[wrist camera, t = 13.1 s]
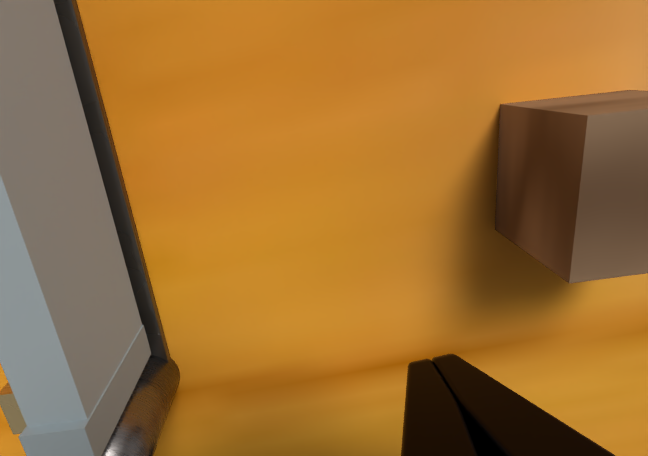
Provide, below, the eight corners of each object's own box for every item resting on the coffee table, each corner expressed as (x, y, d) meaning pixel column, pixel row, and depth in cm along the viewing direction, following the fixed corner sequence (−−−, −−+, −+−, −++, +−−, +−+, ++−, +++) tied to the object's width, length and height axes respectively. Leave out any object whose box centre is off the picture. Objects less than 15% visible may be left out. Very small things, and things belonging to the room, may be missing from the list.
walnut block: (609, 214, 16) (724, 263, 12) (494, 228, 16) (569, 283, 12) (626, 90, 15) (765, 95, 10) (499, 104, 14) (587, 115, 10)
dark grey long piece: (-99, -148, 11) (-447, -351, 6) (42, -159, 11) (-174, -366, 6) (97, 407, 17) (14, 551, 12) (185, 395, 17) (142, 532, 12)
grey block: (-13, -18, 11) (-206, -78, 7) (48, -23, 11) (-103, -86, 7) (106, 358, 15) (33, 472, 11) (151, 353, 15) (97, 464, 11)
